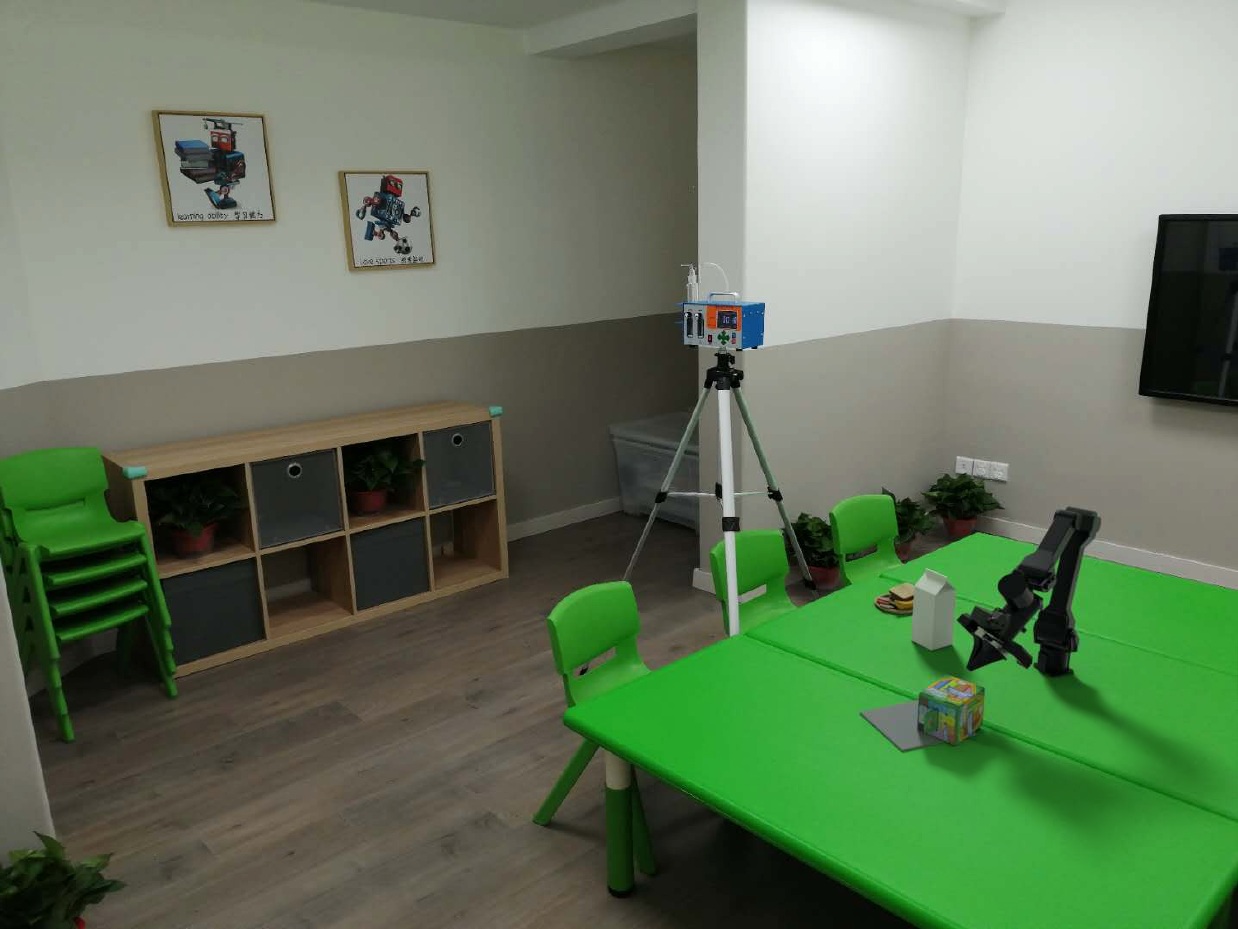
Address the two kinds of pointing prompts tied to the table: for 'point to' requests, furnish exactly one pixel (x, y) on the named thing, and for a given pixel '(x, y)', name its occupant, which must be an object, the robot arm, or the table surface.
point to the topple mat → (901, 725)
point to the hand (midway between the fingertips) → (968, 669)
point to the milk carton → (933, 611)
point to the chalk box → (951, 709)
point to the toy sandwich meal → (897, 599)
